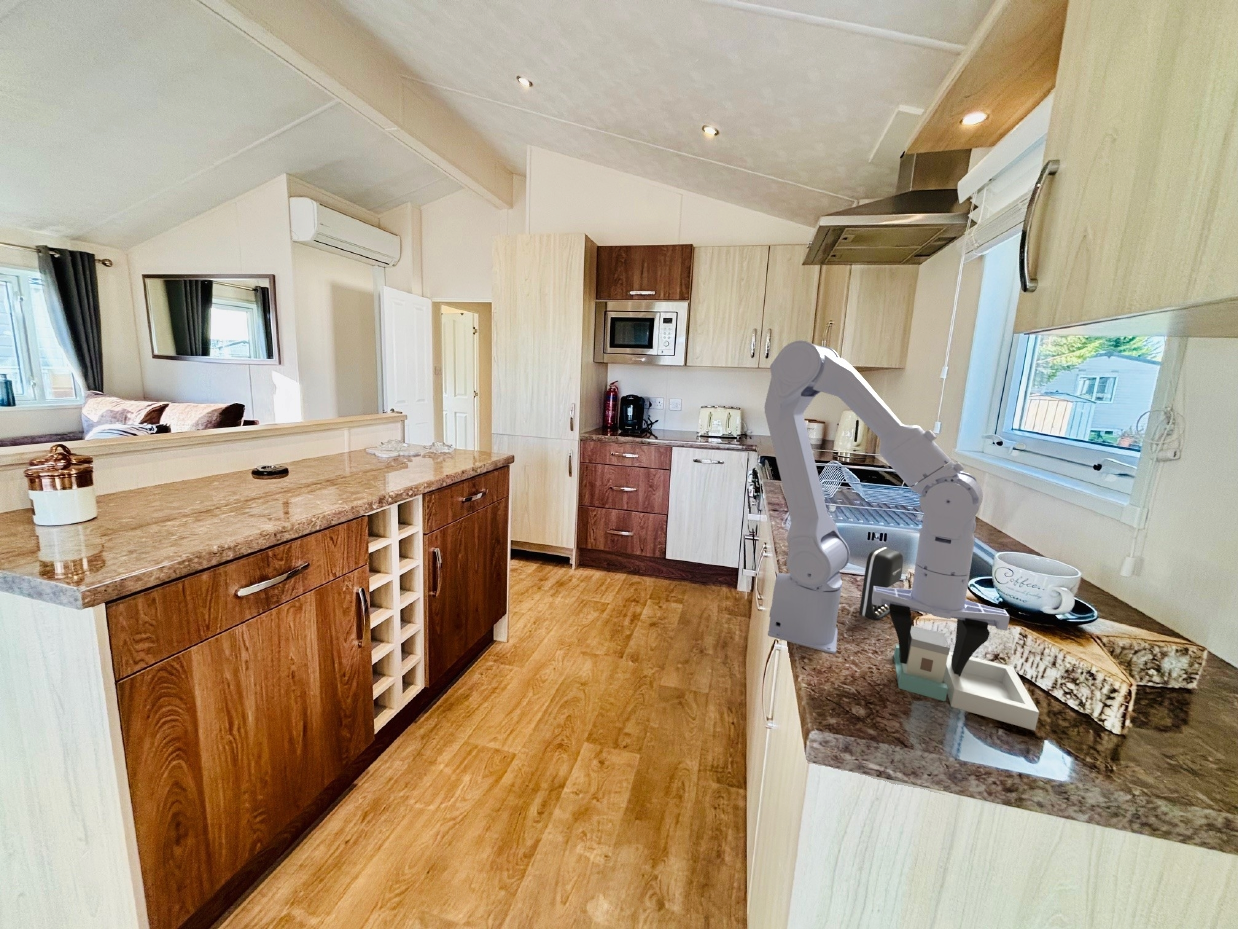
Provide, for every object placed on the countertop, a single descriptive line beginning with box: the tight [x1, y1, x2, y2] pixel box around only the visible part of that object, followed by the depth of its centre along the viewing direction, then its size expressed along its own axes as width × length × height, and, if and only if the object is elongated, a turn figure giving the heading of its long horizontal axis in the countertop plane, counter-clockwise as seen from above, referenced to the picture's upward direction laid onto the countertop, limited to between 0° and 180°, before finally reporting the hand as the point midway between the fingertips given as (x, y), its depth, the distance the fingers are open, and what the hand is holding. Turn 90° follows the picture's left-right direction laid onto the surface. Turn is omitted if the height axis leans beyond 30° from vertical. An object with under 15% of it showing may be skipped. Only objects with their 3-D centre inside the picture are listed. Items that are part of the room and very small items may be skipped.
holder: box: [893, 644, 948, 702], centre depth 63 cm, size 8×5×2 cm, turn 154°
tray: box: [943, 650, 1040, 731], centre depth 60 cm, size 8×10×3 cm
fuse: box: [902, 625, 951, 684], centre depth 62 cm, size 4×4×6 cm
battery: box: [858, 546, 904, 621], centre depth 80 cm, size 7×4×11 cm, turn 131°
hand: (927, 665), depth 62 cm, fingers open, 5 cm apart
